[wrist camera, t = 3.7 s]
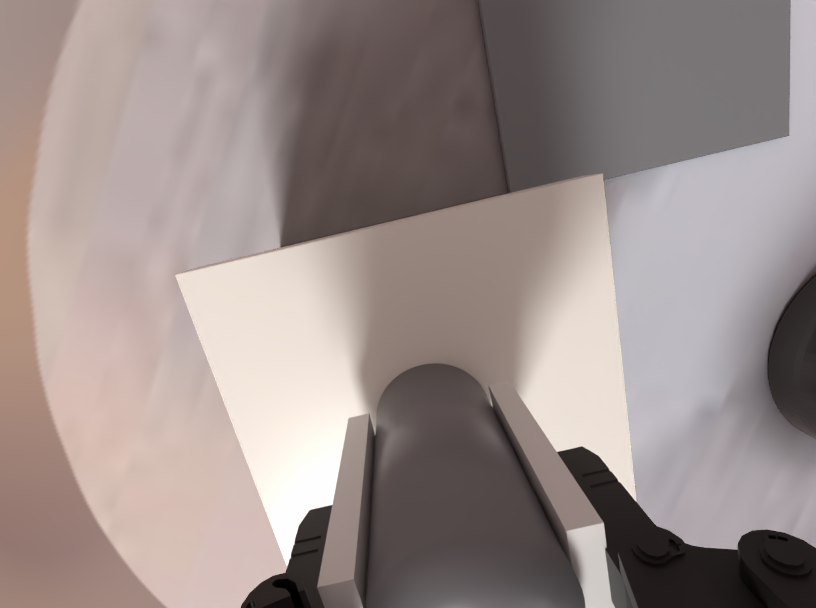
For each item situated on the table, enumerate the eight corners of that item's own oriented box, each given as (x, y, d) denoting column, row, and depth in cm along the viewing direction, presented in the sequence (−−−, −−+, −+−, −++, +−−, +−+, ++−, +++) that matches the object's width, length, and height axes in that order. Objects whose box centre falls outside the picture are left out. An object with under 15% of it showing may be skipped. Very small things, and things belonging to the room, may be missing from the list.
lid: (573, 177, 16) (875, 139, 6) (611, 491, 20) (836, 788, 10) (204, 264, 16) (-89, 368, 6) (311, 560, 20) (234, 917, 10)
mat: (783, -214, 21) (792, -224, 20) (781, 137, 25) (789, 135, 24) (456, -132, 21) (458, -140, 20) (510, 201, 25) (512, 201, 25)
